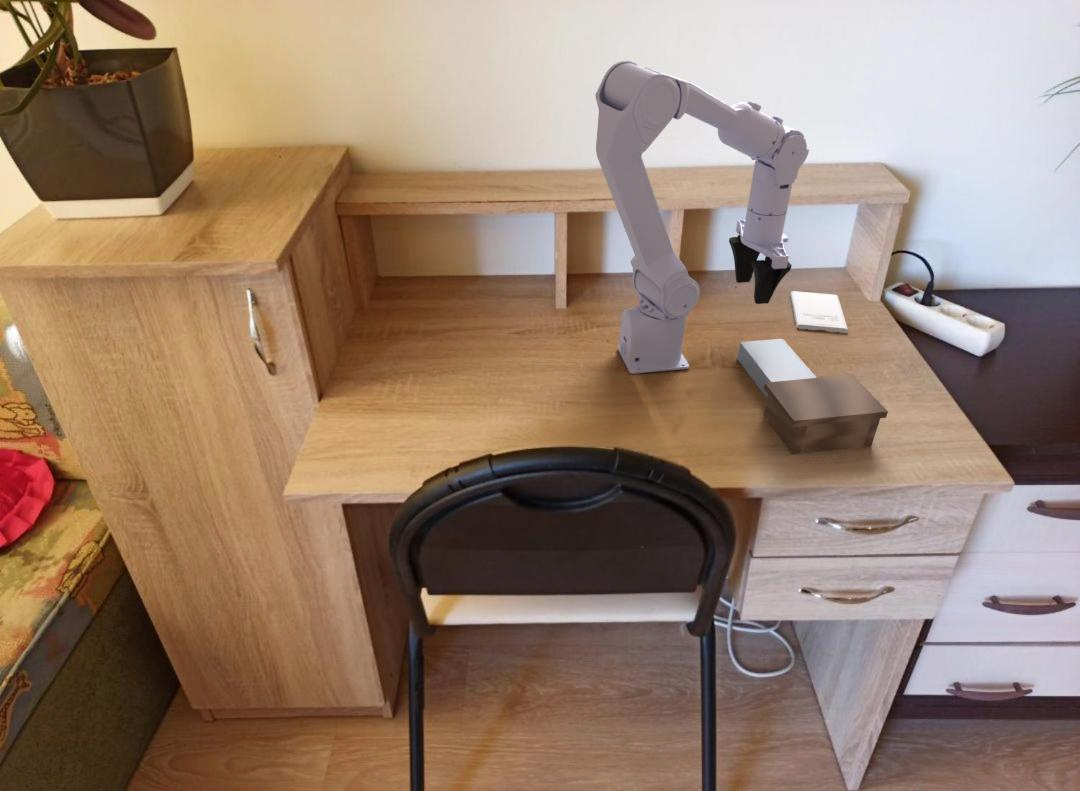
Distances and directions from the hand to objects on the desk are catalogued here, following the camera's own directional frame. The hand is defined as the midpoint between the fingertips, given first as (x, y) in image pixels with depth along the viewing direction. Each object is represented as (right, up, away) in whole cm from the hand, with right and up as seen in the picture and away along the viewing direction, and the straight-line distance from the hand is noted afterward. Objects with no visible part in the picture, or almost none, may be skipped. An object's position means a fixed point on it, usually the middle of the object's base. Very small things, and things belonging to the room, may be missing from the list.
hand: (751, 291), depth 120 cm
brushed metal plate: (+2, -14, -6) cm, 15 cm away
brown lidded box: (+4, -21, -16) cm, 26 cm away
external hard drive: (+15, -3, +12) cm, 20 cm away
